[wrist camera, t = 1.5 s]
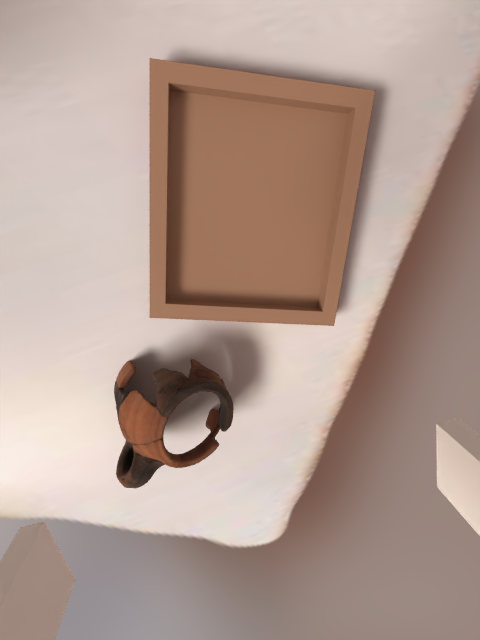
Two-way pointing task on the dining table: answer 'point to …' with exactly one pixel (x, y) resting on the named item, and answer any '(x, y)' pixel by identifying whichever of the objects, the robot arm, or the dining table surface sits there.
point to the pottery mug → (164, 421)
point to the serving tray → (251, 193)
